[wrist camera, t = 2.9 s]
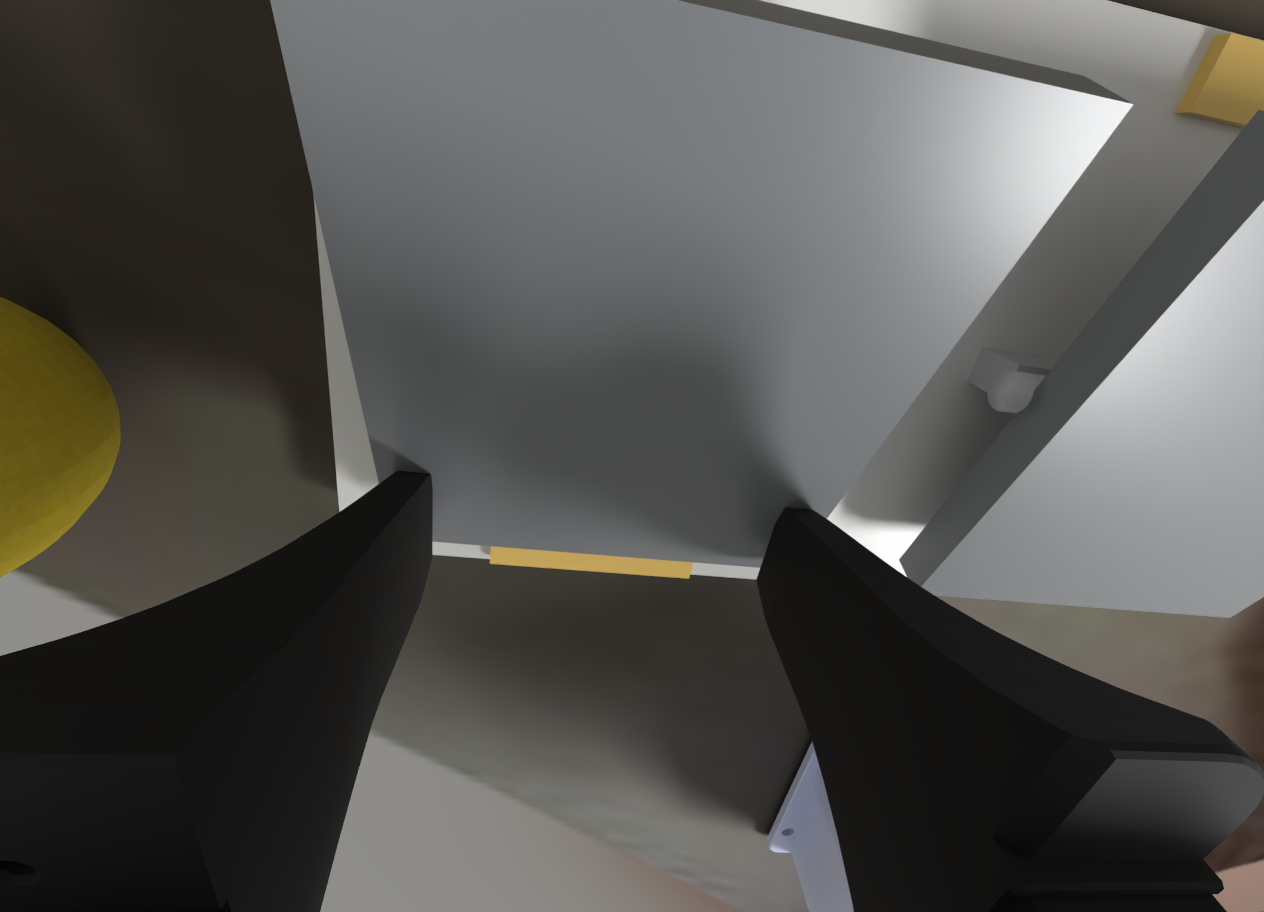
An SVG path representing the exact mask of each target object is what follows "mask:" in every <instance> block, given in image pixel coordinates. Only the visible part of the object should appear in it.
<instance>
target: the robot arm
mask: <svg viewBox="0 0 1264 912" xmlns="http://www.w3.org/2000/svg"><path fill="white" fill-rule="evenodd" d="M432 533H433V487H432V479H431V474H429V473H418V472H408V471H396V472H395V473H393V474H392V475H390V476H389V477H388V478H386V479H385V480H384V481H382V482H381V483H379V484H378V485H377V486H375V487H374V488H373V489H371V490H370V491H368V492H367V493H366V494H364V495H363V496H362V497H360V498H359V499H357V500H356V501H355V502H353V503H352V504H350V505H349V506H347V507H346V508H345V509H343V510H342V511H340V512H339V513H337V514H336V515H334V516H333V517H332V518H330V519H328V520H327V521H325V522H323V523H322V524H320V525H319V526H317V527H315V528H314V529H312V530H311V531H309V532H307V533H306V534H304V535H303V536H301V537H299V538H298V539H296V540H295V541H293V542H291V543H290V544H288V545H286V546H284V547H283V548H281V549H279V550H277V551H275V552H274V553H272V554H270V555H268V556H266V557H264V558H262V559H260V560H258V561H256V562H254V563H252V564H250V565H248V566H246V567H244V568H242V569H240V570H238V571H236V572H234V573H232V574H230V575H228V576H226V577H224V578H222V579H219V580H217V581H214V582H212V583H210V584H207V585H205V586H203V587H200V588H198V589H196V590H193V591H191V592H189V593H186V594H184V595H181V596H179V597H177V598H174V599H172V600H170V601H167V602H165V603H162V604H160V605H157V606H155V607H152V608H149V609H147V610H144V611H141V612H138V613H136V614H133V615H130V616H127V617H125V618H122V619H119V620H116V621H113V622H110V623H107V624H104V625H101V626H98V627H95V628H93V629H90V630H86V631H83V632H81V633H77V634H74V635H71V636H68V637H65V638H62V639H58V640H55V641H51V642H48V643H44V644H41V645H37V646H34V647H30V648H27V649H23V650H20V651H16V652H13V653H9V654H6V655H2V656H0V912H320V910H321V906H322V902H323V898H324V894H325V890H326V887H327V883H328V879H329V875H330V872H331V868H332V864H333V860H334V856H335V852H336V849H337V845H338V841H339V837H340V833H341V830H342V826H343V823H344V819H345V816H346V812H347V808H348V805H349V801H350V798H351V794H352V790H353V787H354V783H355V780H356V776H357V773H358V769H359V766H360V762H361V759H362V756H363V752H364V748H365V745H366V742H367V739H368V735H369V732H370V728H371V725H372V722H373V719H374V716H375V714H376V711H377V708H378V705H379V702H380V700H381V697H382V695H383V692H384V690H385V687H386V685H387V683H388V680H389V678H390V675H391V673H392V670H393V668H394V665H395V663H396V661H397V658H398V656H399V653H400V651H401V648H402V646H403V643H404V641H405V639H406V636H407V634H408V631H409V629H410V626H411V624H412V621H413V619H414V616H415V614H416V611H417V609H418V606H419V604H420V601H421V598H422V594H423V591H424V587H425V583H426V579H427V575H428V571H429V567H430V563H431V559H432ZM756 580H757V585H758V589H759V594H760V598H761V603H762V607H763V611H764V615H765V619H766V622H767V625H768V627H769V630H770V633H771V635H772V638H773V641H774V643H775V646H776V648H777V651H778V653H779V656H780V658H781V661H782V663H783V666H784V668H785V671H786V673H787V676H788V678H789V681H790V683H791V686H792V688H793V691H794V693H795V696H796V698H797V701H798V703H799V706H800V708H801V711H802V713H803V716H804V719H805V721H806V724H807V727H808V730H809V733H810V736H811V739H812V742H811V744H810V746H809V749H808V751H807V753H806V755H805V757H804V759H803V762H802V764H801V766H800V768H799V770H798V772H797V775H796V777H795V779H794V781H793V783H792V785H791V787H790V790H789V792H788V794H787V796H786V798H785V800H784V803H783V805H782V807H781V809H780V811H779V813H778V816H777V818H776V820H775V822H774V824H773V826H772V828H771V831H770V833H769V835H768V837H767V842H768V845H769V848H770V850H772V851H774V852H791V853H792V857H793V860H794V863H795V866H796V870H797V873H798V876H799V880H800V883H801V886H802V890H803V893H804V896H805V899H806V903H807V906H808V909H809V912H1226V910H1225V909H1224V908H1223V907H1222V906H1221V905H1220V903H1219V902H1218V901H1217V900H1216V899H1215V897H1214V896H1213V895H1212V894H1219V893H1220V892H1221V891H1222V890H1223V889H1224V887H1223V883H1222V880H1221V879H1220V878H1219V877H1218V876H1217V875H1216V874H1215V872H1214V871H1213V870H1212V869H1211V868H1210V867H1209V866H1208V864H1207V863H1206V862H1205V861H1204V860H1203V858H1204V857H1206V856H1207V855H1208V854H1209V853H1210V852H1211V851H1212V850H1213V849H1214V848H1215V847H1216V846H1218V845H1219V844H1220V843H1221V842H1222V841H1223V840H1224V839H1225V838H1226V837H1227V836H1229V835H1230V834H1231V833H1232V832H1233V831H1234V830H1235V829H1236V828H1237V827H1238V826H1239V825H1241V824H1242V823H1243V822H1244V821H1245V820H1246V819H1247V817H1248V816H1249V815H1250V814H1251V813H1252V812H1253V811H1254V810H1255V809H1256V807H1257V806H1258V804H1259V802H1260V800H1261V798H1262V796H1263V794H1264V773H1263V772H1262V770H1261V768H1260V767H1259V765H1258V764H1257V763H1256V762H1255V761H1254V760H1253V759H1252V758H1251V757H1250V756H1248V755H1247V754H1246V753H1245V752H1244V751H1243V750H1242V749H1241V748H1240V747H1239V746H1237V745H1236V744H1235V743H1234V742H1233V741H1232V740H1231V739H1230V738H1229V737H1228V736H1226V735H1225V734H1224V733H1223V732H1222V731H1221V730H1219V729H1218V728H1217V727H1216V726H1214V725H1213V724H1211V723H1210V722H1208V721H1207V720H1205V719H1202V718H1199V717H1196V716H1194V715H1191V714H1188V713H1185V712H1183V711H1180V710H1177V709H1174V708H1172V707H1169V706H1166V705H1163V704H1161V703H1158V702H1155V701H1152V700H1150V699H1147V698H1144V697H1141V696H1139V695H1136V694H1133V693H1130V692H1128V691H1125V690H1123V689H1120V688H1118V687H1115V686H1113V685H1110V684H1108V683H1106V682H1103V681H1101V680H1098V679H1096V678H1094V677H1091V676H1089V675H1087V674H1084V673H1082V672H1079V671H1077V670H1075V669H1072V668H1070V667H1068V666H1066V665H1064V664H1061V663H1059V662H1057V661H1055V660H1053V659H1050V658H1048V657H1046V656H1044V655H1042V654H1040V653H1038V652H1036V651H1034V650H1032V649H1030V648H1028V647H1026V646H1024V645H1022V644H1020V643H1018V642H1016V641H1014V640H1012V639H1010V638H1008V637H1006V636H1004V635H1002V634H1000V633H998V632H996V631H994V630H992V629H990V628H989V627H987V626H985V625H983V624H981V623H980V622H978V621H976V620H974V619H973V618H971V617H969V616H968V615H966V614H964V613H962V612H961V611H959V610H957V609H956V608H954V607H952V606H950V605H949V604H947V603H946V602H944V601H942V600H941V599H939V598H937V597H936V596H934V595H933V594H931V593H930V592H928V591H927V590H925V589H924V588H922V587H921V586H919V585H918V584H916V583H915V582H913V581H912V580H910V579H909V578H907V577H906V576H904V575H903V574H902V573H900V572H899V571H897V570H896V569H894V568H893V567H892V566H890V565H889V564H887V563H886V562H885V561H883V560H882V559H881V558H879V557H878V556H876V555H875V554H874V553H872V552H871V551H870V550H868V549H867V548H866V547H864V546H863V545H862V544H860V543H859V542H858V541H856V540H855V539H853V538H852V537H851V536H849V535H848V534H847V533H845V532H844V531H843V530H841V529H840V528H839V527H837V526H836V525H835V524H833V523H832V522H830V521H829V520H828V519H826V518H825V517H823V516H822V515H820V514H819V513H817V512H816V511H814V510H809V509H797V508H786V507H785V508H784V510H783V512H782V513H781V515H780V516H779V518H778V519H777V521H776V523H775V525H774V528H773V531H772V534H771V537H770V540H769V543H768V546H767V549H766V552H765V555H764V558H763V561H762V564H761V567H760V570H759V573H758V576H757V579H756ZM1257 912H1264V911H1257Z"/></svg>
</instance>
